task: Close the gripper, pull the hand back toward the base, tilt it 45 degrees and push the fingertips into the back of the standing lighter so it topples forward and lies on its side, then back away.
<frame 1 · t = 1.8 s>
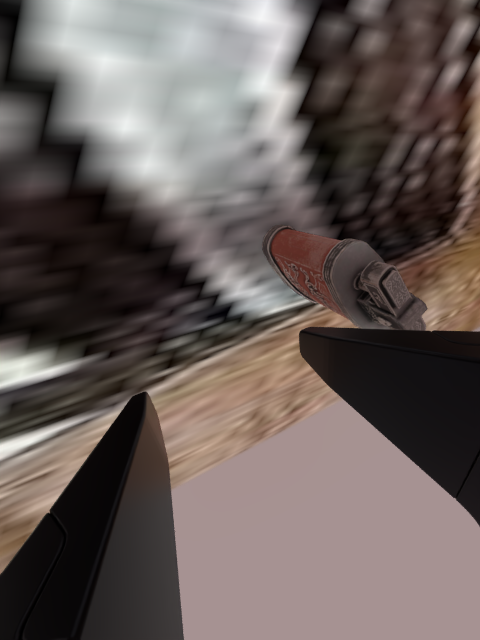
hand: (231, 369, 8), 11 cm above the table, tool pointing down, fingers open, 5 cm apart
lighter: (295, 265, 21), on the table
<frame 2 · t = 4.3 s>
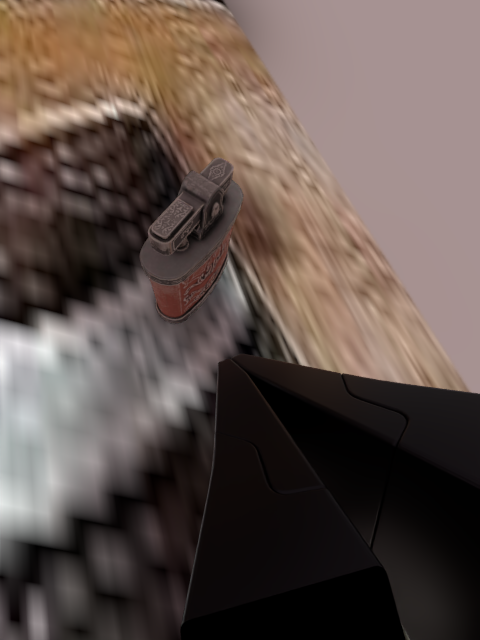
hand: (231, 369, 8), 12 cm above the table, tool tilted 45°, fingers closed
lighter: (194, 283, 22), on the table
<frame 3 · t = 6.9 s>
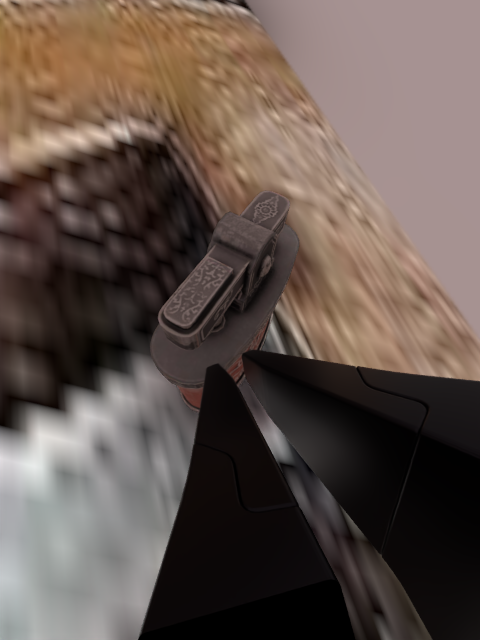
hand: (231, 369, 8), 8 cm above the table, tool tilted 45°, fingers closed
lighter: (229, 353, 17), on the table, touching gripper
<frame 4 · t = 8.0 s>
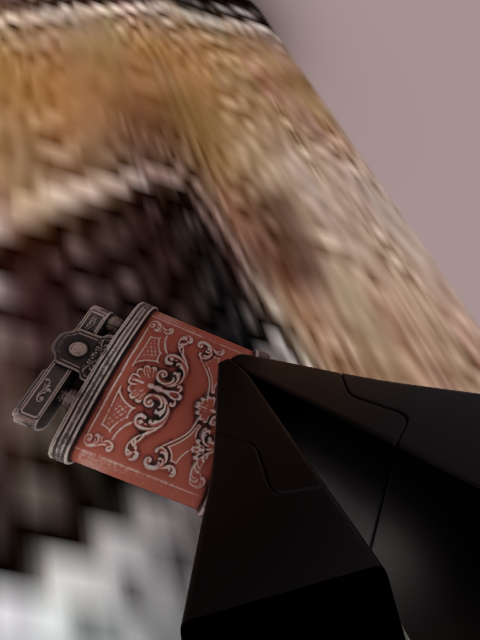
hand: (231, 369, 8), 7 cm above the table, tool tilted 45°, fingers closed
lighter: (248, 429, 13), point 2 cm above the table
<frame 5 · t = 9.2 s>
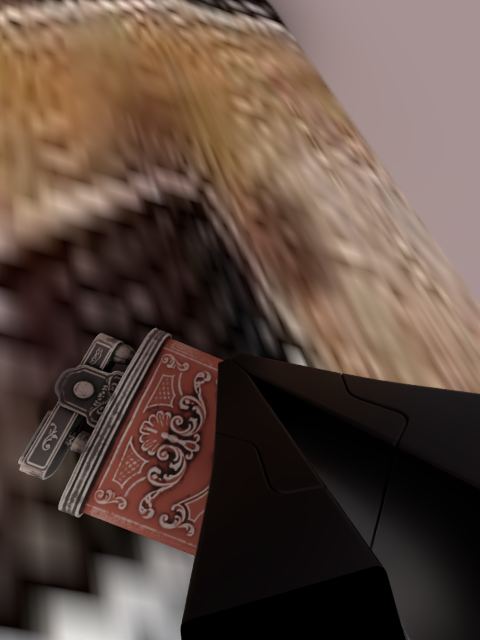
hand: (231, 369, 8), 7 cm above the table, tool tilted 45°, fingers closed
lighter: (272, 472, 12), point 2 cm above the table
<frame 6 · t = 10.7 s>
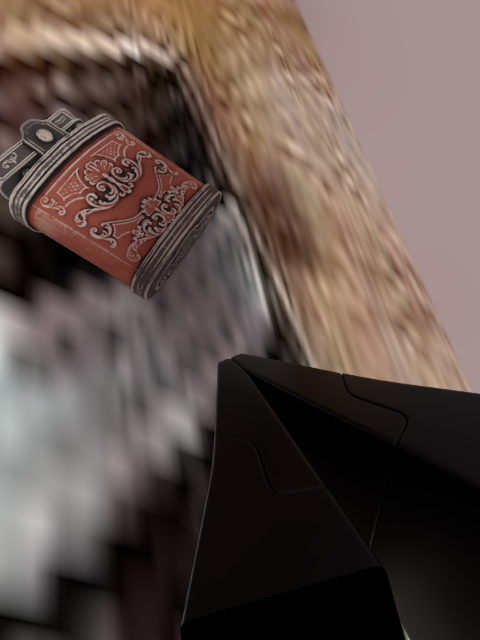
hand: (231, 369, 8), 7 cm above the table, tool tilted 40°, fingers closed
lighter: (189, 246, 15), point 2 cm above the table
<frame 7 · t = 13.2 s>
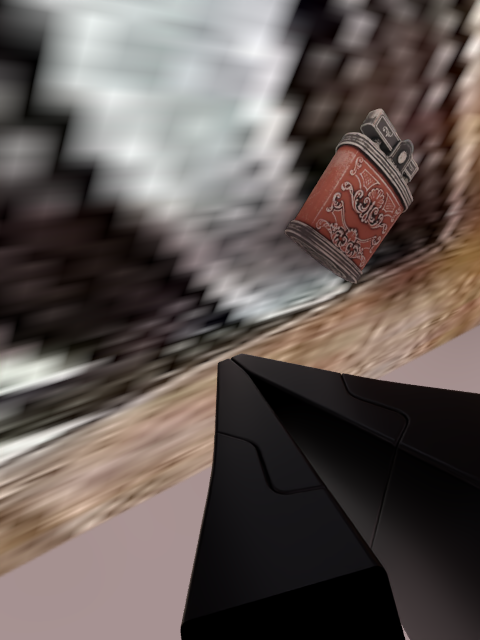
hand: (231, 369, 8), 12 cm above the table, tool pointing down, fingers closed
lighter: (320, 260, 21), point 2 cm above the table
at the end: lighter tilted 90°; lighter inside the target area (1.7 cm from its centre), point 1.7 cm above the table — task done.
